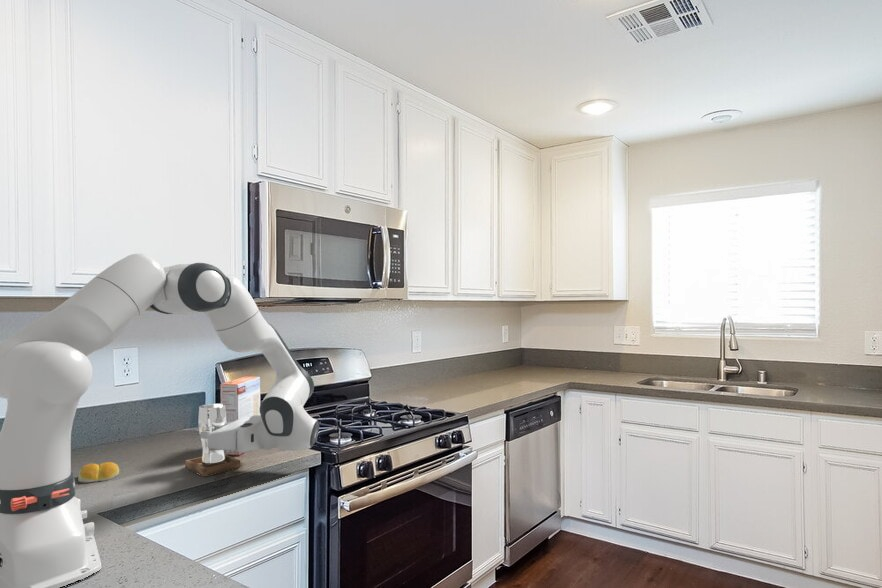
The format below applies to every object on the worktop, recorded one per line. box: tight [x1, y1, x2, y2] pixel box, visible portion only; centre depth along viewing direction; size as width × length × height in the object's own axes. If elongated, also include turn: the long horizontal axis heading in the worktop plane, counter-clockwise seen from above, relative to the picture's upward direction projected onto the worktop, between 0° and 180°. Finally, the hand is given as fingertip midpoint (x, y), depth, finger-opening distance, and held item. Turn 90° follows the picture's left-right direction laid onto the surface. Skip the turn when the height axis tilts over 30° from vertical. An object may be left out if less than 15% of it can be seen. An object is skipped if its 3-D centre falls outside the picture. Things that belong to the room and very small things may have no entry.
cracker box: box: [219, 376, 261, 456], centre depth 168 cm, size 14×6×21 cm, turn 171°
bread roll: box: [77, 461, 120, 484], centre depth 143 cm, size 8×9×4 cm
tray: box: [184, 454, 242, 477], centre depth 151 cm, size 11×10×2 cm
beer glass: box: [198, 402, 226, 465], centre depth 151 cm, size 7×7×15 cm
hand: (209, 430), depth 151 cm, fingers closed on beer glass, 6 cm apart
